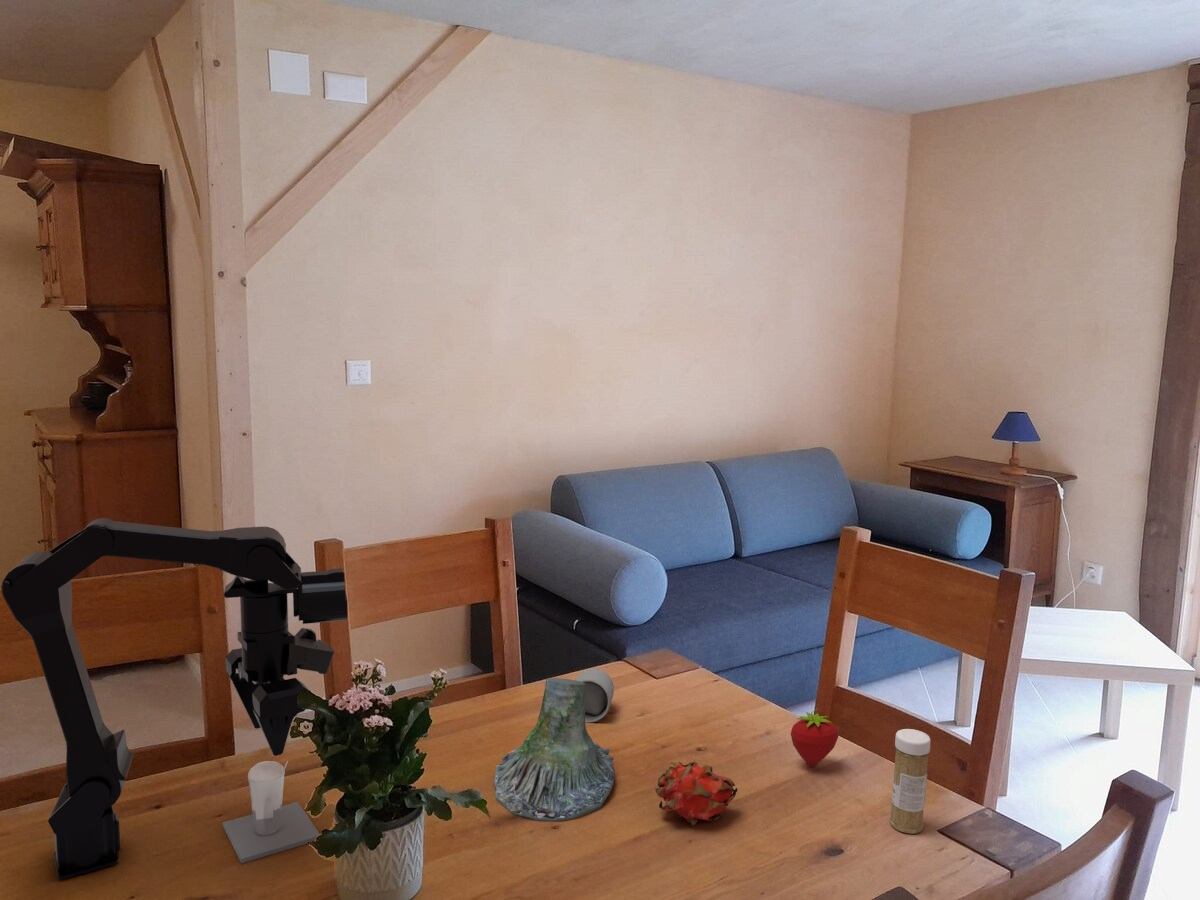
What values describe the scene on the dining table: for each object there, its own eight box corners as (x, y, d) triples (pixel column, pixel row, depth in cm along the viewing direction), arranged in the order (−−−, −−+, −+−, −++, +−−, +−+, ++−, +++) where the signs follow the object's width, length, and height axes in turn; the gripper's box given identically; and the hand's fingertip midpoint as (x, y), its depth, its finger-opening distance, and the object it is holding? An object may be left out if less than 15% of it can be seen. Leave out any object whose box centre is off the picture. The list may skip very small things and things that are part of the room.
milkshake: (279, 841, 118) (278, 769, 116) (242, 836, 119) (240, 764, 117) (298, 823, 122) (296, 753, 121) (261, 818, 123) (259, 748, 122)
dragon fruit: (646, 825, 128) (728, 833, 130) (662, 818, 121) (748, 826, 122) (648, 762, 132) (727, 771, 134) (663, 752, 125) (747, 761, 126)
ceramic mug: (615, 705, 164) (615, 664, 163) (609, 724, 156) (609, 681, 155) (557, 701, 166) (557, 661, 165) (548, 720, 158) (548, 678, 157)
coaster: (241, 863, 114) (241, 859, 114) (222, 826, 122) (222, 822, 122) (320, 839, 120) (320, 835, 120) (297, 805, 128) (297, 801, 128)
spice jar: (891, 814, 129) (897, 725, 127) (925, 822, 128) (932, 731, 126) (887, 830, 125) (894, 738, 123) (922, 838, 123) (929, 745, 122)
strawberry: (843, 774, 141) (847, 712, 139) (797, 777, 139) (801, 715, 138) (826, 756, 147) (830, 697, 145) (782, 759, 145) (785, 700, 144)
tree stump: (464, 809, 129) (474, 680, 131) (525, 779, 148) (533, 667, 150) (584, 831, 122) (592, 695, 124) (632, 797, 141) (639, 679, 143)
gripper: (350, 636, 114) (352, 753, 116) (305, 598, 129) (307, 702, 131) (259, 653, 108) (262, 776, 110) (222, 610, 123) (226, 720, 125)
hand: (268, 740), depth 119 cm, fingers open, 9 cm apart
